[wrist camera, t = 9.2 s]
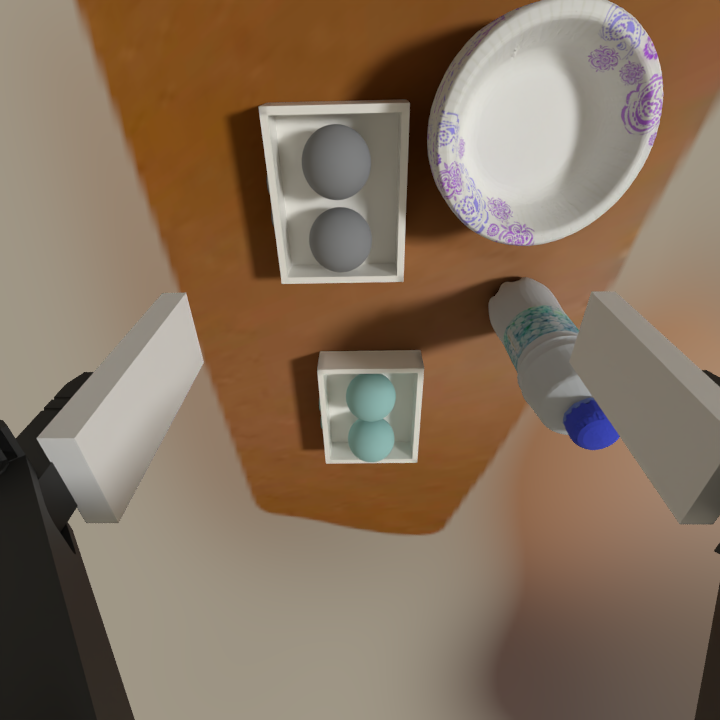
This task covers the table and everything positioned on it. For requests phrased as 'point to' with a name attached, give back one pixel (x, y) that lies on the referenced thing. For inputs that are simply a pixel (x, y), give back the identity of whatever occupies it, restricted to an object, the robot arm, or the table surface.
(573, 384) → the bottle
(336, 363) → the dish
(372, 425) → the teal ball
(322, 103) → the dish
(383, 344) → the table surface
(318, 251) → the charcoal ball
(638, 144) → the paper bowls
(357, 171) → the charcoal ball
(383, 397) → the teal ball
